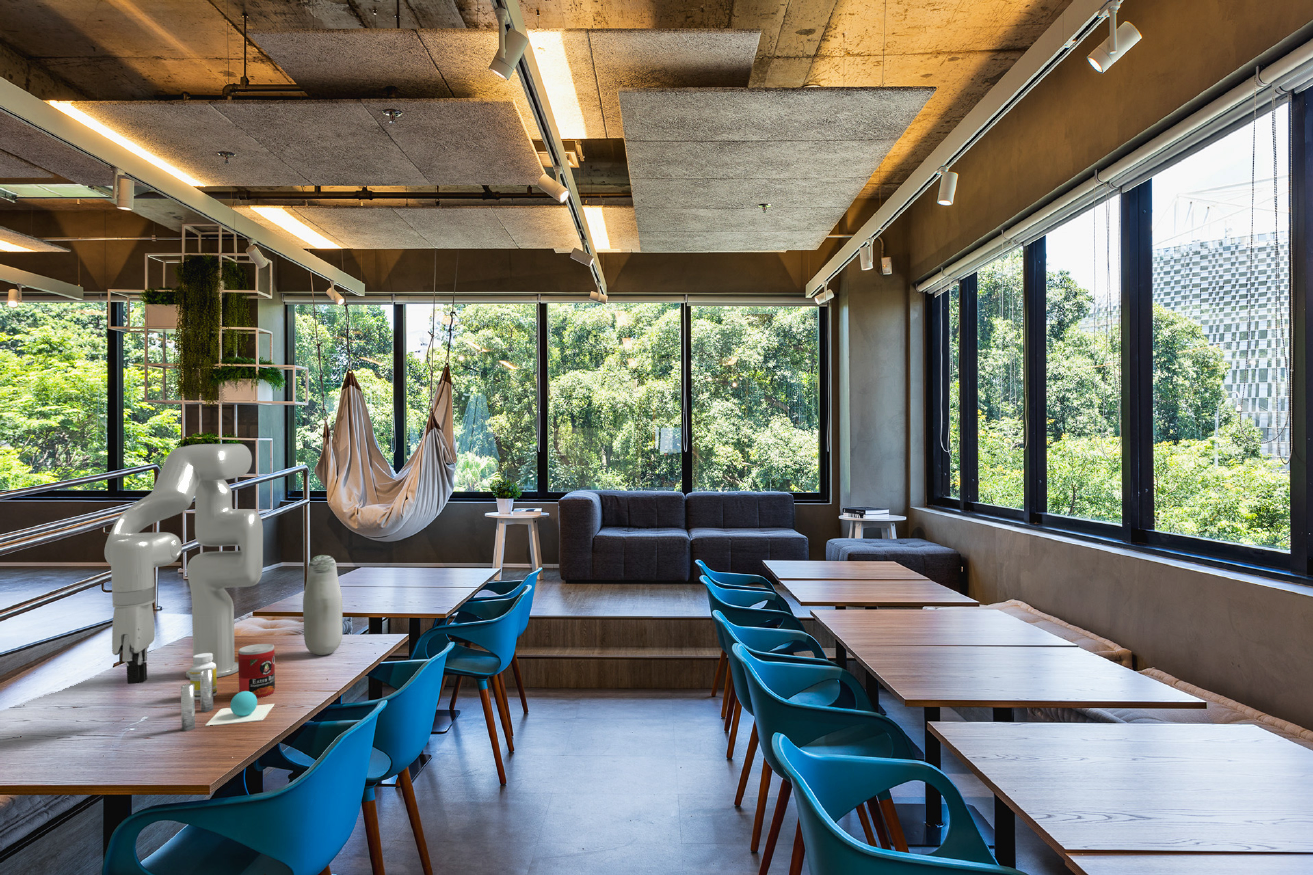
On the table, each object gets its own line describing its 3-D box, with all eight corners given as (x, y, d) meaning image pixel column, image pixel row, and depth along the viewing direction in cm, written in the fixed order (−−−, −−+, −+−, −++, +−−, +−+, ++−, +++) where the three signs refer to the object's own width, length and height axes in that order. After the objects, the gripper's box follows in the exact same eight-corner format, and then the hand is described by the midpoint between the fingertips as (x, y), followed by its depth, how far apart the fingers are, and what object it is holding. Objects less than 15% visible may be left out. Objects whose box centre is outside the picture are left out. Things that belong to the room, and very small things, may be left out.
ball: (255, 684, 172) (264, 705, 172) (232, 694, 171) (242, 716, 171) (245, 690, 167) (255, 712, 167) (222, 701, 166) (232, 723, 166)
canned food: (251, 701, 179) (250, 653, 179) (231, 696, 184) (231, 649, 184) (282, 692, 186) (281, 645, 186) (262, 687, 190) (262, 642, 190)
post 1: (183, 727, 163) (183, 684, 163) (196, 725, 163) (196, 682, 163) (179, 731, 160) (179, 687, 160) (192, 729, 161) (192, 686, 161)
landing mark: (221, 709, 174) (221, 708, 174) (274, 704, 176) (274, 703, 176) (205, 726, 163) (205, 725, 163) (262, 720, 166) (262, 719, 166)
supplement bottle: (213, 691, 188) (212, 650, 188) (219, 696, 184) (219, 654, 184) (187, 696, 184) (187, 655, 184) (194, 701, 180) (193, 659, 180)
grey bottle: (299, 654, 221) (297, 555, 221) (335, 647, 228) (333, 551, 228) (311, 660, 214) (309, 558, 214) (348, 653, 221) (346, 554, 221)
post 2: (202, 708, 174) (202, 668, 175) (214, 707, 175) (214, 667, 175) (199, 712, 172) (198, 671, 172) (211, 711, 173) (210, 670, 173)
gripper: (128, 590, 172) (132, 672, 173) (97, 606, 157) (101, 696, 158) (166, 588, 174) (169, 669, 174) (139, 603, 159) (143, 692, 160)
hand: (137, 681), depth 166 cm, fingers closed
